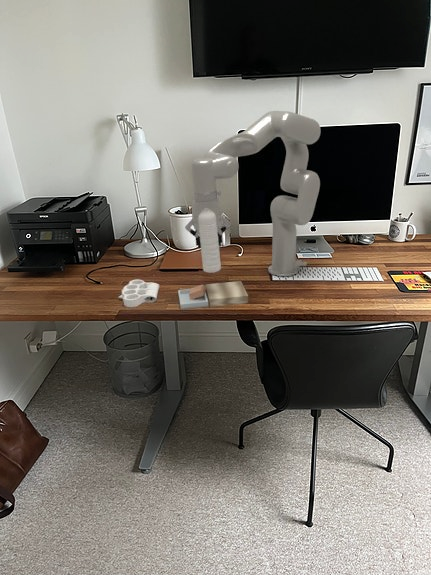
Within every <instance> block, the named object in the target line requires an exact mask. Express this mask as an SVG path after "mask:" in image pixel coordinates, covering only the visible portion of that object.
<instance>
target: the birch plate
mask: <svg viewBox="0 0 431 575" xmlns="http://www.w3.org/2000/svg"><path fill="white" fill-rule="evenodd" d="M204 287H205V289H206V290H205V292H206V296H207V299H208V306H209V307H210V308H214V307H221V306H222V307H223V306H232V305H243V304H249V294H248V293H247V291H246V288H245V287H244V284H243V283H242V281H241V280H237V281H228V282H217V283H206V284H204Z"/></svg>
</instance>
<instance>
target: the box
mask: <svg viewBox="0 0 431 575" xmlns="http://www.w3.org/2000/svg"><path fill="white" fill-rule="evenodd" d="M190 290H191V288H186V289H185V288H184V289H178V290H177V292H178V293H177V294H178V300H179V305H180V310H187V309H198V308H205V307H206V308H207V307H210V305H209V302H208V298H207V295H206V291H205V293H204V296H201V297H198V298H195V299H192V300H191V298H190V296H189V293H190Z"/></svg>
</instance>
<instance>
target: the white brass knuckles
mask: <svg viewBox="0 0 431 575" xmlns="http://www.w3.org/2000/svg"><path fill="white" fill-rule="evenodd" d="M159 289H160V284H158V283H156V282H145V281H144V280H142V279H132V280H130V281H129V282H128V284H126V285H125V286H124V287H123V288H122V289H121V290H120V291H121V295H119V296H118V299H119V298H120V299H122V301H123V306H125V307H127V308H135V307H137V306H140V305H141V304H143V303H154V302H156V301H157V297H158V294H159ZM151 298H152V299H151Z"/></svg>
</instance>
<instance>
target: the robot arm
mask: <svg viewBox="0 0 431 575" xmlns="http://www.w3.org/2000/svg"><path fill="white" fill-rule="evenodd" d="M320 136H321V126H320V124H319V122H318V121H317V120H316V119H313V118H310V117H307V116H304V115H301V114H298V113H295V112H293V111H288V110H287V111H286V110H285V111H284V110H283V111H282V110H270V111H268V112H266V113H265V114H263V115H262V116H261V117H259V119H257V120H256V121H255V122H254V123H252V124H251V125H250V126H248V127H247V128H246V129H245V130H244V131H242V132H240V133H237V134H235V135H233V136H231V137H228V138H226V139H224V140H222V141H220V142H218V143H217V144H216V145H214V146H213V147H211V149H209V150H208V151H207V152H206V153H204V155H203V157H198V158H194V160H192V162H191V170H192V171H191V172H192V173H191V174H192V181H193V182H192V184H193V195H194V196H193V197H194V199H193V200H192V201H191V202H192V203H191V219H190V221H189V222H188V223H187V224H185V227H184V228H185V230H186V231H187V232H189V233H190V235H192V236H193V237H195V246H198V249H201V243H200V236H199V221H198V217H199V215H200V213H201V212H202V210H203V209H204V208H209V209H210V210H211V211H213V212H214V214H215V215H216V223H217V224H216V225H217V231H218V242H219V247H221V244H222V243H223V235H224V234H223V233H224V232H225V231H226V230H227V228H228V227H230V226H231V221H229V220H228V219H226V218H225V217H224V216H223V214H222V208H221V202H220V198H219V196H221V195H222V192H221V191H219V190H217V181H216V180H221V179H230V178H232V177H235V175H236V174H237V173H238V171H239V167H240V166H239V161H238V160H237V159H236V158H238V157H246V156H250V155H254V154H257V153H258V152H260V151H261V150H262V149H263V148H265V147H266V146H267V145H268V144H269V143H270V142H272V141H273V140H274V139H276V138H277V137H278V138H281V140H282V142H283V144H284V147H285V151H286V153H285V154H286V155H285V160H284V164H283V170H282V173H281V178H280V189H281V190H282V191H284V192H286V193H290V194H293V195H297V197H293V196H290V195H289V196H288V195H277V196H276V197H274V199H273V200H272V201H271V203H270V206H269V207H270V209H269V210H270V217H271V221H272V222H271V223H272V242H271V243H272V244H271V246H272V247H271V248H272V249H271V250H272V254H271V255H272V256H271V259H272V260H271V263H272V264H271V265H269V266H268V268H267V269H268V273H269V274H271V275H272V274H274V275H273V276H275V275H277V276H276V277H281V276H288V277H292V276H291V275H293V276H295V275H294V274H296V273H297V274H298V273H299V272H298V271H299V270H300V267H307V264H308V263H307V261H303V260H301V259H300V260H299V259H298V260H297V259H296V252H297V251H296V250H297V249H296V248H297V231H298V230H297V226H305V225H307V224H309V222H310V221H311V219H312V217H313V215H314V211H315V208H316V203H317V199H318V196H319V192H320V187H321V180H320V177H319V175H318V173H317V172H315V171H313V170H309V169H308V170H307V167H308V162H309V154H310V153H309V149H308V145H313V144H315V143H316V142H317V141H318V140H319V139H320ZM223 223H224V224H223ZM192 226H193V229H192ZM297 274H296V275H297Z"/></svg>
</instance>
